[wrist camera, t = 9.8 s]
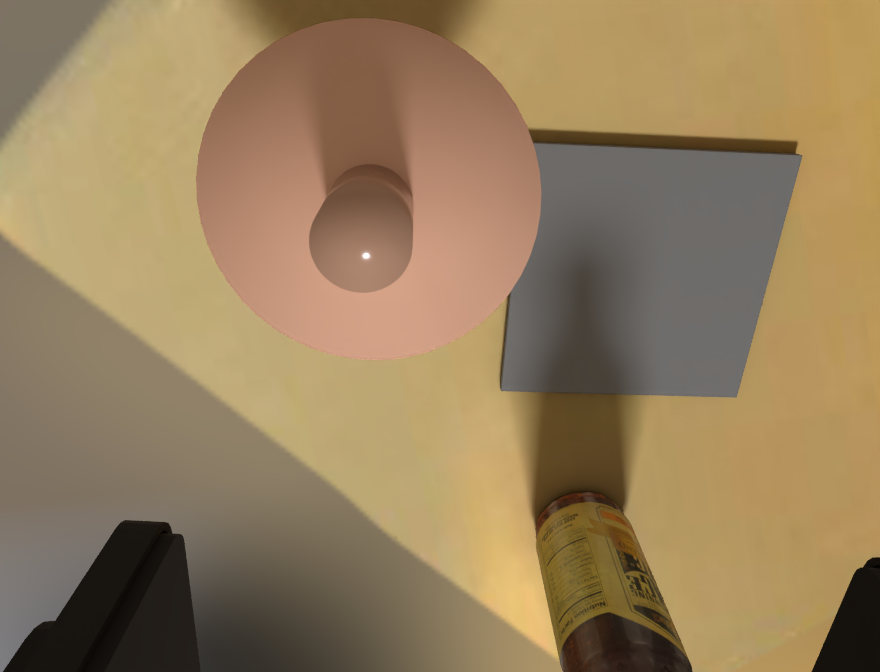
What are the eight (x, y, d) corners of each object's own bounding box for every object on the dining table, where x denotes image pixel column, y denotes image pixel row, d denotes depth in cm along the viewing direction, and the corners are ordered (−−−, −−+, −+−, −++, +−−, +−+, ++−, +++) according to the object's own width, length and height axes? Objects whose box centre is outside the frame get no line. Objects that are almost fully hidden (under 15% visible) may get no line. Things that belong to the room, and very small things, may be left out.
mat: (796, 153, 34) (802, 155, 33) (732, 392, 39) (736, 397, 39) (524, 141, 33) (525, 143, 32) (500, 386, 39) (501, 391, 38)
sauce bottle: (636, 541, 44) (787, 893, 26) (548, 570, 45) (635, 930, 27) (608, 468, 42) (754, 802, 24) (516, 500, 42) (588, 847, 24)
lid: (556, 28, 22) (595, 27, 17) (519, 353, 27) (542, 425, 22) (187, 8, 21) (117, 1, 16) (220, 344, 26) (175, 415, 21)
